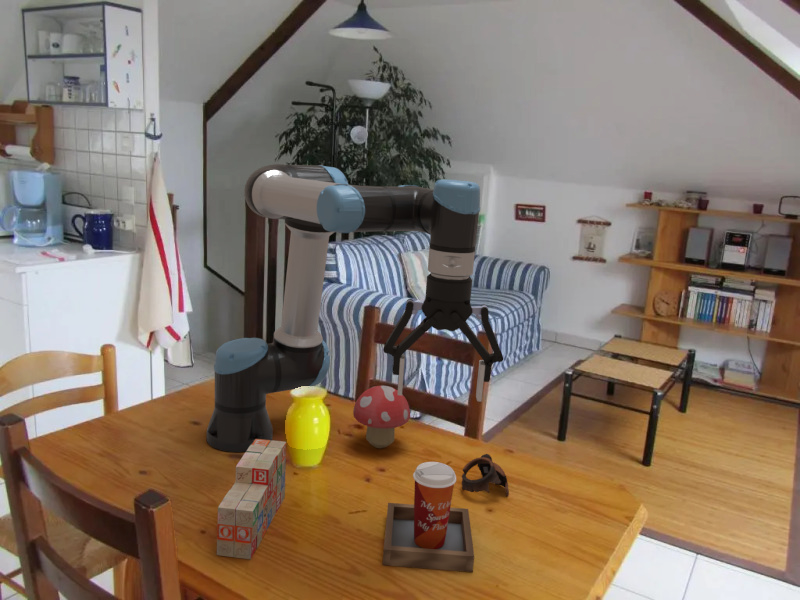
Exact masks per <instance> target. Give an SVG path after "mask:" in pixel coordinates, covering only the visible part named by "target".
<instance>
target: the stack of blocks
mask: <svg viewBox="0 0 800 600" xmlns="http://www.w3.org/2000/svg"><path fill="white" fill-rule="evenodd" d="M286 455H287V442H286V441H281V440H273V439H272V440H271V441H270V440H263V439H255V440H254V442H253V443H252V445H250V446H249V448H248V449H247V451H245V452H244V454H243V455H242V457H241V458H240V460H239V461H238V463H237V464H236V466H235V481H234V484H233V485H232V486H231V488H230V489H228V492H227V493H226V495H224V497H223V499H222V501H221V502H220V504H219V505H218V506H217V524H216V555H217V556H220V557H221V556H223V557H231V558H236V559H243V560H244V559H245V560H252V559H253V557H254V554H255V552H256V550H257V549H258V547H259V546H260V544H261V542H262V540H263V538H264V536H265V535H266V533H267V531H268V528H269V527H270V525H271V523H272V521H273V520H274V518H275V516H276V514H277V513H278V511H279V508H280V507H281V505H282V504H283V502H284V500H285V495H286V468H287V467H286V465H287V456H286Z"/></svg>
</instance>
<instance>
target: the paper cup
mask: <svg viewBox="0 0 800 600" xmlns="http://www.w3.org/2000/svg"><path fill="white" fill-rule="evenodd" d="M412 477H413V480H414V498H413V505H414V541H415V543H416V545H418V546H419V547H421V548H425V549H439V548H441V547H442V546H443V545H444V542H445V537H446V532H447V526H448V519H449V513H450V508H451V507H452V506H451V505H452V500H453V498H452V497H453V492H454V487H455V483H456V482H457V475H456V472H455V471H454V469H453V468H452V467H451V466H450V465H447V464H445V463H442V462H438V461H426V462H422V463H420V464H419V465H417V466H416V468H415V470H414V471H413V474H412Z"/></svg>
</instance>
